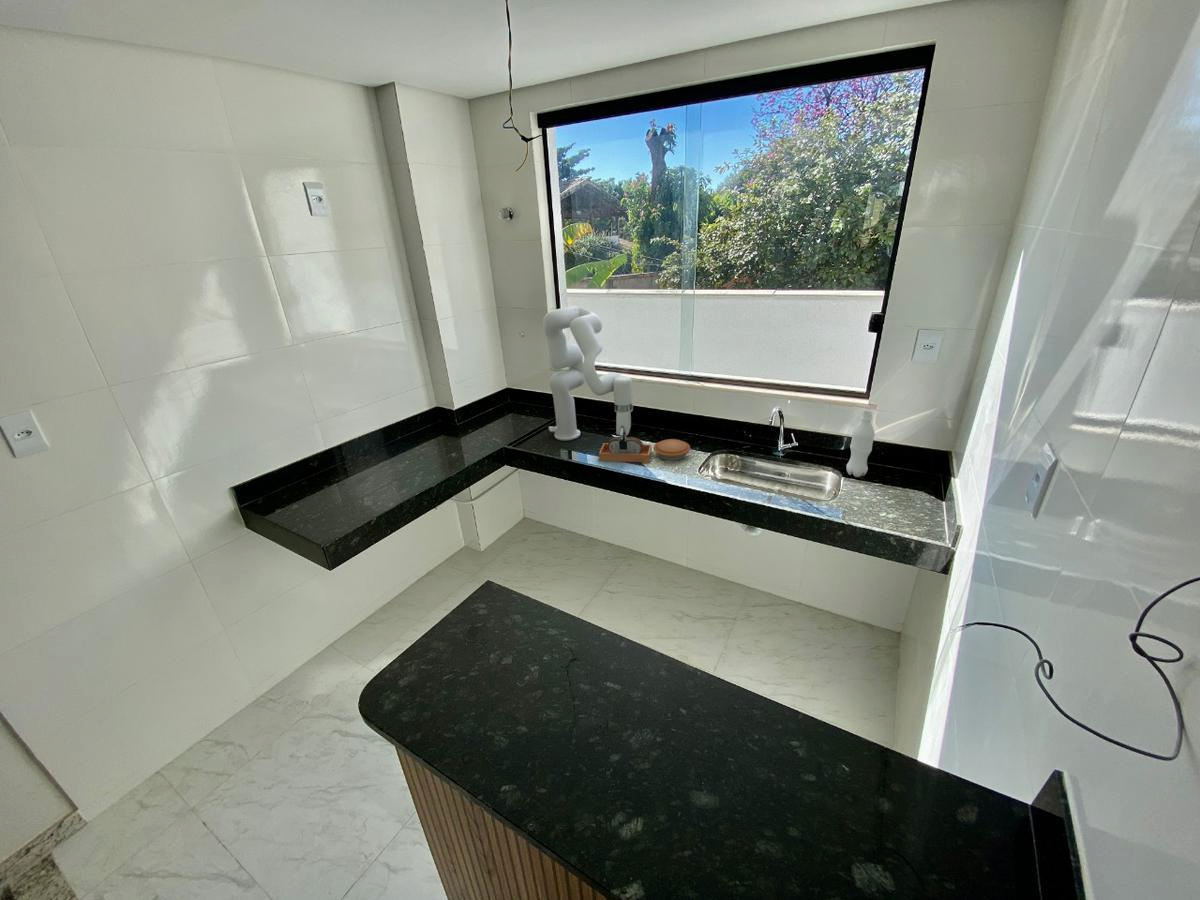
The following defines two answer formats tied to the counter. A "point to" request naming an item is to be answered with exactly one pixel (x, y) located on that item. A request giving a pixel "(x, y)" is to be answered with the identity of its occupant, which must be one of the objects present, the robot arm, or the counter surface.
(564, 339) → the robot arm
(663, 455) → the pie
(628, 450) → the tin
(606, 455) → the brown wooden tray
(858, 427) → the water bottle
